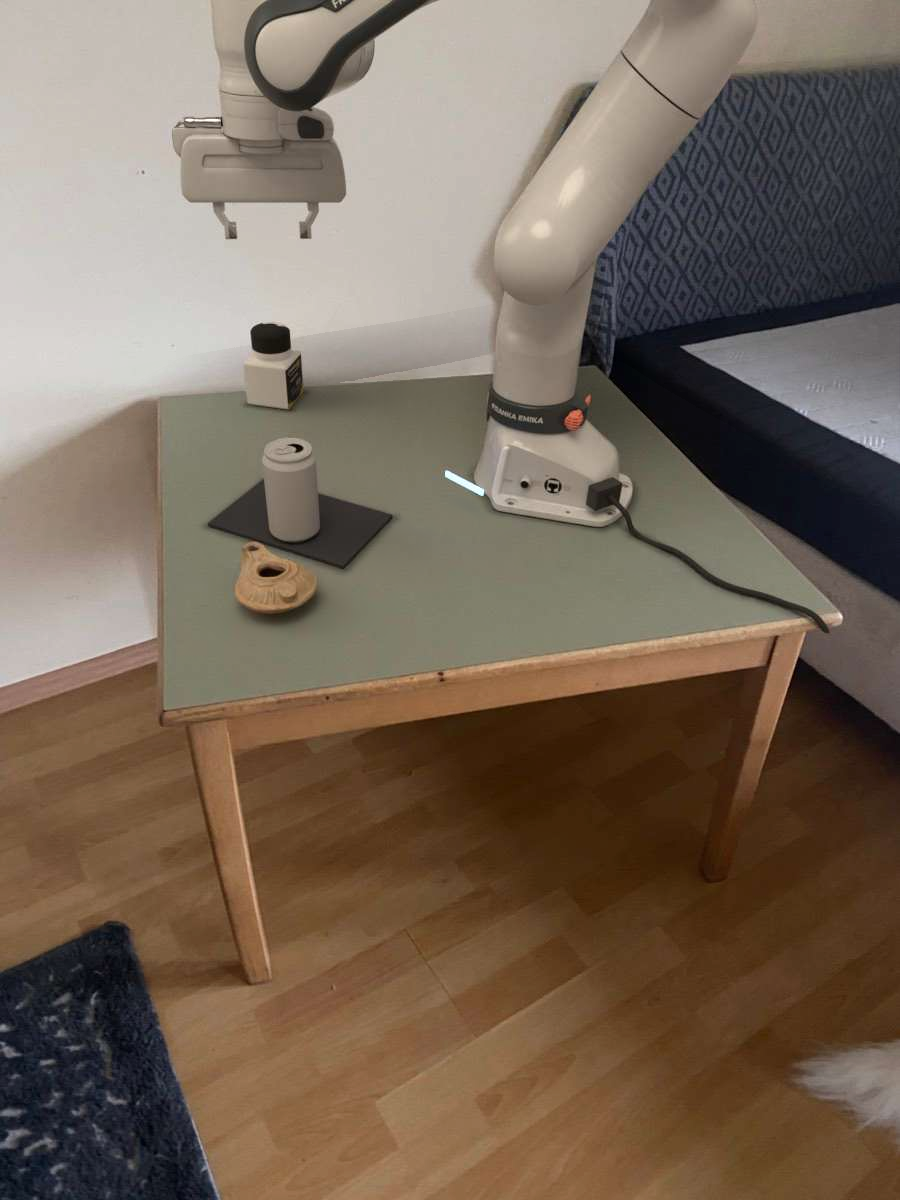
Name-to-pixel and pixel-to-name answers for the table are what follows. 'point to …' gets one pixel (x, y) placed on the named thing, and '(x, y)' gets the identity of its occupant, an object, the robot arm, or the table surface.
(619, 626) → the table surface
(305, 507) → the beverage can
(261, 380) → the medicine bottle
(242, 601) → the pottery oil lamp
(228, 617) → the table surface
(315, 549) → the mat
